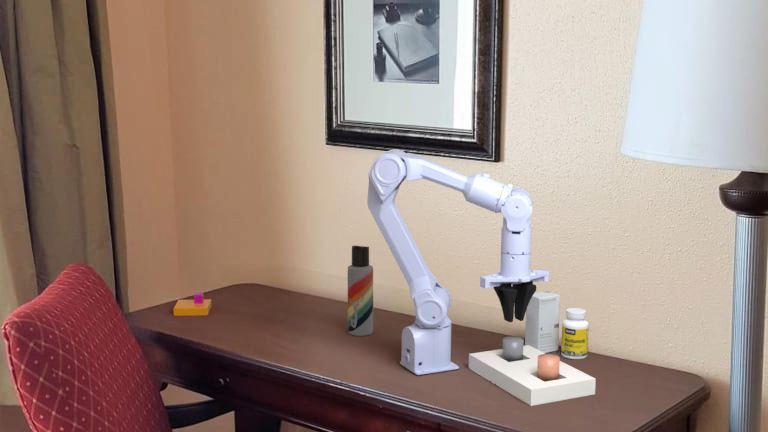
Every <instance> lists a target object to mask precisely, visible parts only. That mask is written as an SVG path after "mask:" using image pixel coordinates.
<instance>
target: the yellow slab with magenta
mask: <svg viewBox="0 0 768 432" xmlns="http://www.w3.org/2000/svg"><path fill="white" fill-rule="evenodd" d="M193 298H194V299H178V300H177V302H176V303H175V305H174V307H173V316H175V317H176V316H177V317H178V316H181V317H182V316H188V317H189V316H208V315H209V313H210V310H211V308H212V299H211V298H210V299H205V298H204V292H201V293H199V292H195V293H194V295H193Z"/></svg>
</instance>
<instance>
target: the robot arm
mask: <svg viewBox="0 0 768 432" xmlns="http://www.w3.org/2000/svg"><path fill="white" fill-rule="evenodd" d="M367 176H368V189H367V204H366V205H367V207H368V210H369V211H370V213H371V215H372V217H373V219H374V221H375V223H376V225H377V226H378V228H379V230H380V233H381V235H382V236H383V238H384V240H385V242H386V244H387V246H388V248H389V250H390V251H391V254H392V256H393V257H394V260H395V261H396V262H397V263H396V264H397V265H398V266H399V269H400V271H401V273H402V274H403V276H404V277H403V278H405V280H406V282H407V285H408V289H409V293H410V298H411V300H412V302H413V305H414V316H415V319H414V323H412V324H411V325H408V326H405V327H404V328H403V329H402V333H401V357H400V359H401V360H400V361H399V364H400V365H401V366H403V367H404V368H406V369H407V370H409V371H410V372H411V373H413V374H414V375H416V376H421V375H426V374H427V375H429V374H434V373H441V372H449V371H454V370H459V368H460V367H459V365H458V364H455V363H454V362H453V361H451V359H452V357H451V355H452V354H451V352H452V320H451V318H449V316H448V311H449V310H450V308H451V306H452V296H451V293H450V292H449V290H448V289H447V288H445V287H444V286H443V285H441V283H440V282H439V281H438V279H437V277H436V276H435V275H434V274H433V273H432V272H431V270H430V268H429V267H428V264H427V263H426V261H425V259H424V256H423V255H422V253H421V251H420V249H419V248H418V245H417V243H416V242H415V240H414V238H413V236H412V233H411V232H410V230H409V228H408V226H407V224H406V222H405V220H404V218H403V216H402V214H401V213H400V211H399V208H398V207H397V204H396V203H395V201H396V198H397V196H398V193H399V189H400V187H401V185H402V184H403V182H404V181H405V180H406V182H411V181H417V180H426V181H429V182H432V183H434V184H437V185H441V186H443V187H446V188H449V189H452V190H455V191H458V192H460V193H462V195H463V196H464V199H465V201H466V202H468V203H470V204H472V205H476V206H477V207H480V208H483V209H486V210H488V211H490V212H493V213H495V214H497V213H501V216H503V218H502V227H501V234H500V235H501V238H500V239H501V240H500V269H499V270H500V271H499V272H496V273H493V274H489V275H484V276H480V279H479V286H480V288H483V289H486V290H487V289H490V288H493V290H494V292H495V294H496V296H497V298H498V301H499V303H500V306H501V309H502V315H503V318H504V319H503V320H504V321H506V322H508V323H513V322H514V319H515V320H517V321H520V322H522V321H524V319H525V317H526V309H527V306H528V304H529V302H530V300H531V298H532V296H533V294H534V293H536V292H537V285H536V284H535V283H537V282H544V283H546V282H549V281H550V271H547V270H545V269H539V270H538V269H535V270H533V269H532V270H531V257H532V255H531V254H532V231H533V230H532V228H531V226H532V219H531V216H532V214H533V209H534V207H533V203H534V202H533V198H532V196H531V194H529V192H527V190H525V189H523V188H522V187H514V184H512V183H509V182H508V184H505V183H503V182H500V181H497V180H495V179H492V178H490V177H491V175H490V174H489V173H487V172H483V174H480V173H475V174H473V175H470V176H467V175H465V174H463V173H460V172H457V171H456V170H453V169H451V168H449V167H446V166H444V165H442V164H440V163H438V162H435V161H433V160H430V159H429V158H425V157H423V156H420V155H418V154H415V153H412V152H407V153H406V152H405V151H403V150H401V149H398V148H397V149H390V150H387V151H386V152H385V153H383V154H381V155H379V156H377V157H376V158H375V159H374V162H373V163H372V166H371V167H370V170H369V172H368V174H367Z"/></svg>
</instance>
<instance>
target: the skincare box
mask: <svg viewBox="0 0 768 432" xmlns="http://www.w3.org/2000/svg"><path fill="white" fill-rule="evenodd" d="M560 304H561V294H558V293H554V292H551V291H548V290H547V291H539V292H535V293H534V294H533V296H532V298H531V300H530V302H529V304H528V306H527V309H526V313H525V327H524V328H525V331H524V333H525V336H524V346H526V345H529V346H531V347H533V348H535V349H537V350H539V351H541V352H543V353H545V354H549V353H552V352H557V351H558V350H559V340H560V339H559V336H560V310H561V309H560V307H561V306H560Z"/></svg>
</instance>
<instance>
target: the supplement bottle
mask: <svg viewBox="0 0 768 432" xmlns="http://www.w3.org/2000/svg"><path fill="white" fill-rule="evenodd" d="M565 317H566V318H565V319H563V320H562V323H561V324H562V326H561V340H560V342H561V343H560V344H561V348H560V355H561V356H562V357H563V358H565V359H570V360H584V359H585V358H587V357H588V353H589V351H588V349H589V348H588V347H589V333H590V332H589V331H590V330H589V328H590V325H589V324H590V323H589V322H588V321H587V320H586V318H587V310H586V309H584V308H580V307H569V308H567V309H566V312H565Z"/></svg>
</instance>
